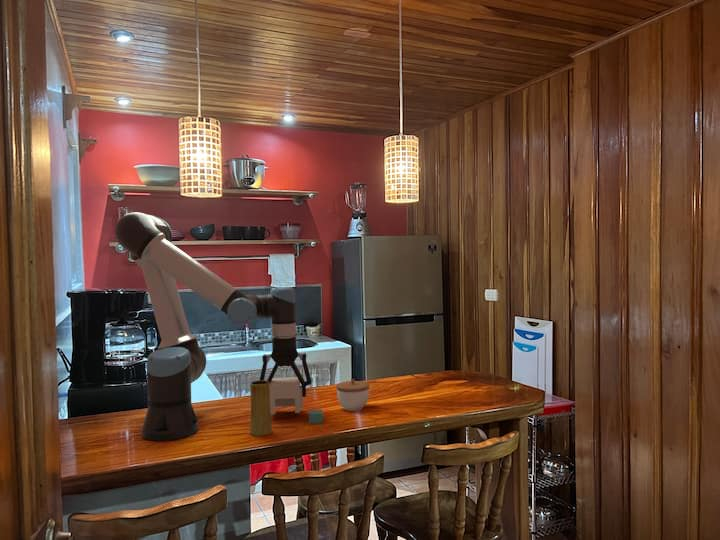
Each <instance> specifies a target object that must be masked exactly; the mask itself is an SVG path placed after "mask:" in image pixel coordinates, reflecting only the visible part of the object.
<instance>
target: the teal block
mask: <svg viewBox="0 0 720 540" xmlns="http://www.w3.org/2000/svg"><path fill="white" fill-rule="evenodd" d="M323 416H324V413H323V410H322V409H313V410H312V409H310V410H308V423H309V424H310V425H312V424H311V423H314V424H324V417H323Z"/></svg>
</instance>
